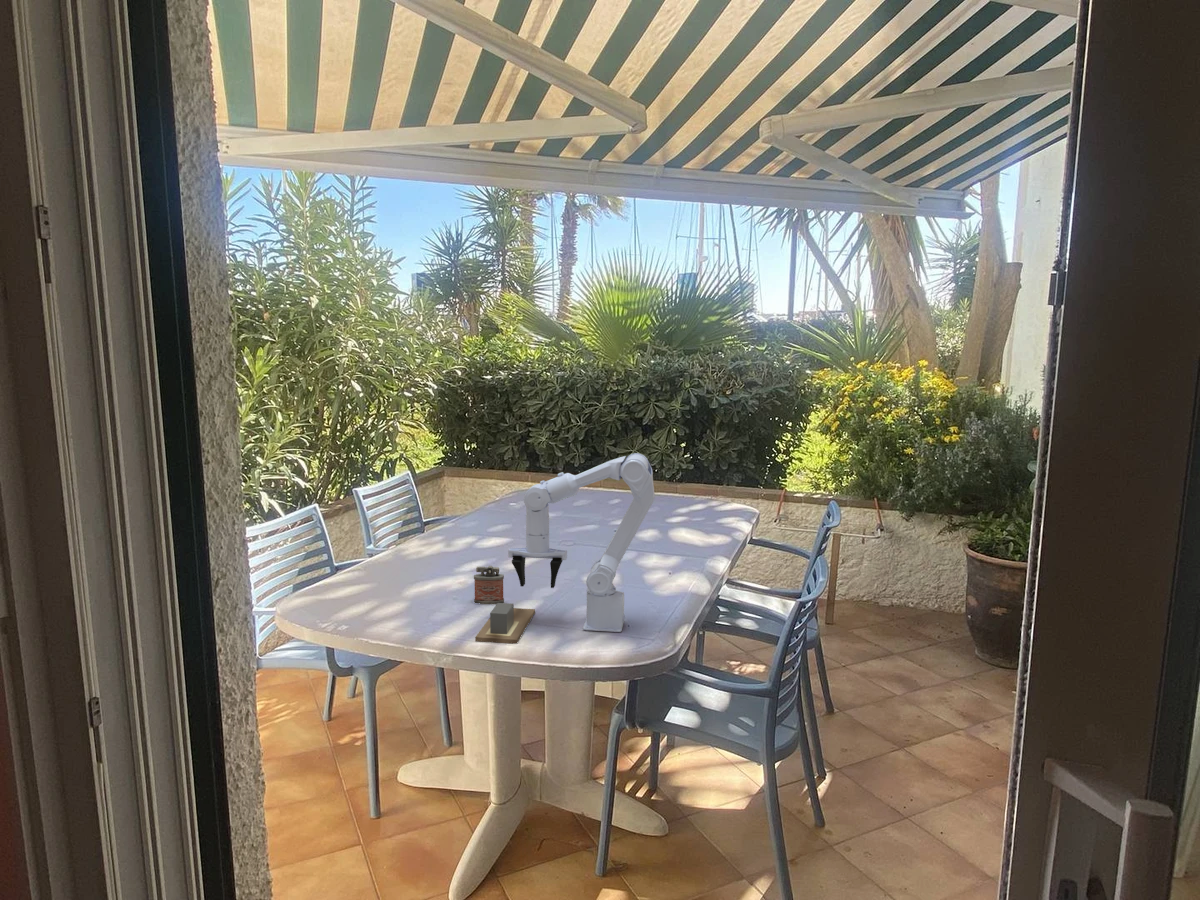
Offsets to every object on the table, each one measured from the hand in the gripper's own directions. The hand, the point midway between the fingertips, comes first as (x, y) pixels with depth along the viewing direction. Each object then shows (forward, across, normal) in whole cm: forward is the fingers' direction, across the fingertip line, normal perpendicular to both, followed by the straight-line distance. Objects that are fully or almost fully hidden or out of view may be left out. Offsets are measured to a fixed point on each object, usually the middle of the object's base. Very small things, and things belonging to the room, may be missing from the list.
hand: (537, 585), depth 182 cm
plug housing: (+8, +7, +8) cm, 14 cm away
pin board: (+9, +7, +4) cm, 12 cm away
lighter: (+10, +16, -12) cm, 22 cm away
